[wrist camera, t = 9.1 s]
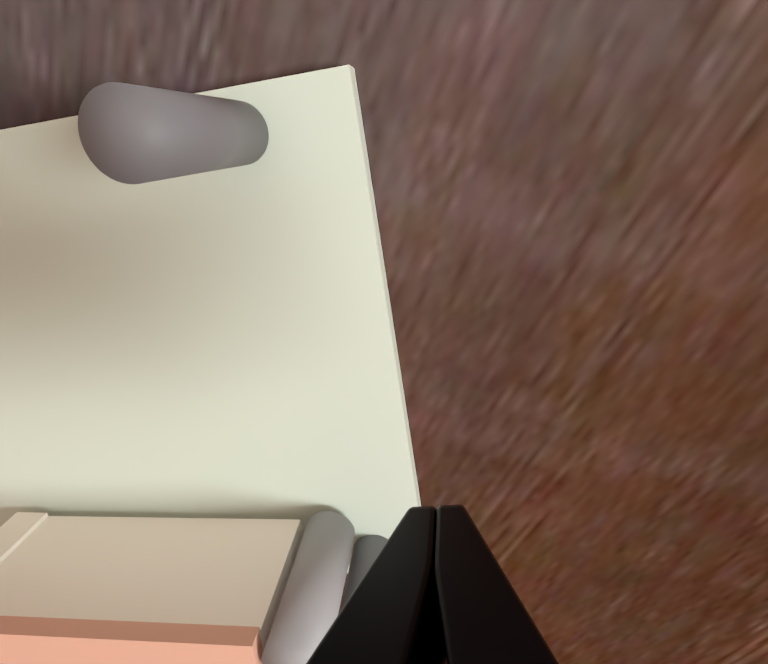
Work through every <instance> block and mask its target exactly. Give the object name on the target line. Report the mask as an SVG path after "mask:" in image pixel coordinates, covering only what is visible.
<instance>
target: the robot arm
mask: <svg viewBox="0 0 768 664" xmlns="http://www.w3.org/2000/svg"><path fill="white" fill-rule="evenodd" d="M306 664H559V663H558V662H557V660H556V658H555V657H554V655H553V653H552V652H551V650H550V648H549V647H548V645H547V643H546V642H545V640H544V638H543V637H542V635H541V633H540V632H539V630H538V628H537V627H536V625H535V623H534V622H533V620H532V618H531V617H530V615H529V614H528V612H527V610H526V609H525V607H524V605H523V604H522V602H521V600H520V599H519V597H518V595H517V594H516V592H515V590H514V589H513V587H512V585H511V584H510V582H509V580H508V579H507V577H506V575H505V574H504V572H503V570H502V569H501V567H500V565H499V564H498V562H497V560H496V559H495V557H494V555H493V554H492V552H491V550H490V549H489V547H488V545H487V544H486V542H485V540H484V539H483V537H482V535H481V534H480V532H479V530H478V529H477V527H476V525H475V524H474V522H473V520H472V519H471V517H470V515H469V514H468V512H467V510H466V509H465V508H464V506H462V505H441V506H439V507H438V508H437V510H436V509H435V507H433V506H419V507H411V508H409V509H408V510H407V512H406V513H405V515H404V516H403V518H402V519H401V521H400V522H399V524H398V525H397V527H396V528H395V530H394V531H393V533H392V535H391V536H390V538H389V539H388V541H387V542H386V544H385V545H384V547H383V548H382V550H381V551H380V553H379V554H378V556H377V557H376V559H375V560H374V562H373V563H372V565H371V566H370V568H369V569H368V571H367V572H366V574H365V575H364V577H363V578H362V580H361V581H360V583H359V584H358V586H357V587H356V589H355V590H354V592H353V593H352V595H351V597H350V598H349V600H348V601H347V603H346V604H345V606H344V607H343V609H342V610H341V612H340V613H339V615H338V616H337V618H336V619H335V621H334V622H333V624H332V625H331V627H330V628H329V630H328V631H327V633H326V634H325V636H324V637H323V639H322V640H321V642H320V643H319V645H318V646H317V648H316V649H315V651H314V652H313V654H312V655H311V657H310V658H309V660H308V662H307V663H306Z"/></svg>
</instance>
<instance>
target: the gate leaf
mask: <svg viewBox="0 0 768 664" xmlns="http://www.w3.org/2000/svg"><path fill="white" fill-rule="evenodd" d="M354 537H355V529H354V526H353V524H352V523H351V522H350V520H349V519H348V518H346V517H345V516H343V515H342V514H339V513H337V512H333V511H322V512H318V513H316V514H314V515H313V516H311V517H310V518H309V520H308V522H307V525H306V528H305V530H304V533H303V531H302V526H301V520H296V519H226V518H156V517H86V516H48V514H47V513H35V512H17V513H15V514H14V515H13V516H12V517H11V518H10V519H9V520H8V521H7V522H5V523H4V524H3V525H2V526H1V527H0V664H306V663H307V662H308V660H309V658H310V657H311V655H312V654H313V652H314V651H315V649H316V648H317V646H318V645H319V643H320V642H321V640H322V639H323V637H324V636H325V634H326V633H327V631H328V630H329V628H330V627H331V625H332V624H333V622H334V621H335V619H336V618H337V616H338V612H339V607H340V603H341V598H342V593H343V588H344V584H345V579H346V574H347V570H348V565H349V560H350V555H351V551H352V546H353V541H354Z"/></svg>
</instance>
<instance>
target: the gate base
mask: <svg viewBox="0 0 768 664" xmlns="http://www.w3.org/2000/svg"><path fill="white" fill-rule="evenodd" d="M419 506H421V502H420V495H419V489H418V482H417V475H416V469H415V462H414V456H413V449H412V443H411V436H410V430H409V423H408V417H407V410H406V403H405V397H404V390H403V384H402V377H401V371H400V364H399V358H398V351H397V345H396V338H395V331H394V325H393V318H392V312H391V305H390V299H389V292H388V286H387V279H386V273H385V266H384V259H383V253H382V246H381V240H380V233H379V227H378V220H377V214H376V207H375V201H374V194H373V187H372V181H371V174H370V168H369V161H368V155H367V148H366V142H365V135H364V129H363V122H362V115H361V109H360V102H359V96H358V89H357V83H356V76H355V70H354V68H353V67H352V66H350V65H344V66H339V67H334V68H328V69H323V70H318V71H312V72H307V73H301V74H296V75H291V76H285V77H280V78H275V79H269V80H264V81H259V82H253V83H248V84H243V85H237V86H232V87H227V88H221V89H216V90H211V91H205V92H200V93H195V94H193V93H186V92H180V91H173V90H166V89H160V88H153V87H146V86H140V85H133V84H127V83H120V82H108V83H104V84H101V85H99V86H96V87H95V88H93V89H92V90H91V91H90V92H89V93H88V94H87V95H86V96H85V98H84V99H83V101H82V103H81V106H80V109H79V113H78V115H77V116H72V117H66V118H61V119H56V120H50V121H45V122H40V123H34V124H29V125H24V126H18V127H13V128H8V129H2V130H0V527H1V526H2V525H3V524H4V523H5V522H7V521H8V520H9V519H10V518H11V517H12V516H13V515H14V514H15V513H17V512H35V513H47V514H48V516H86V517H156V518H226V519H296V520H301V526H302V531H303V533H304V530H305V528H306V525H307V522H308V520H309V518H310V517H311V516H313V515H314V514H316V513H318V512H322V511H333V512H337V513H339V514H342V515H343V516H345V517H346V518H348V519H349V520H350V522H351V523H352V524H353V526H354V529H355V537H354V541H353V546H352V551H351V555H350V560H349V565H348V570H347V573H348V577H347V582H346V586H345V591H344V596H343V601H342V605H341V610H342V609H343V607H344V606H345V604H346V603H347V601H348V600H349V598H350V597H351V595H352V593H353V592H354V590H355V589H356V587H357V586H358V584H359V583H360V581H361V580H362V578H363V577H364V575H365V574H366V572H367V571H368V569H369V568H370V566H371V565H372V563H373V562H374V560H375V559H376V557H377V556H378V554H379V553H380V551H381V550H382V548H383V547H384V545H385V544H386V542H387V541H388V539H389V538H390V536H391V535H392V533H393V531H394V530H395V528H396V527H397V525H398V524H399V522H400V521H401V519H402V518H403V516H404V515H405V513H406V512H407V510H408V509H409V508H411V507H419ZM341 610H340V612H341Z"/></svg>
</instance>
